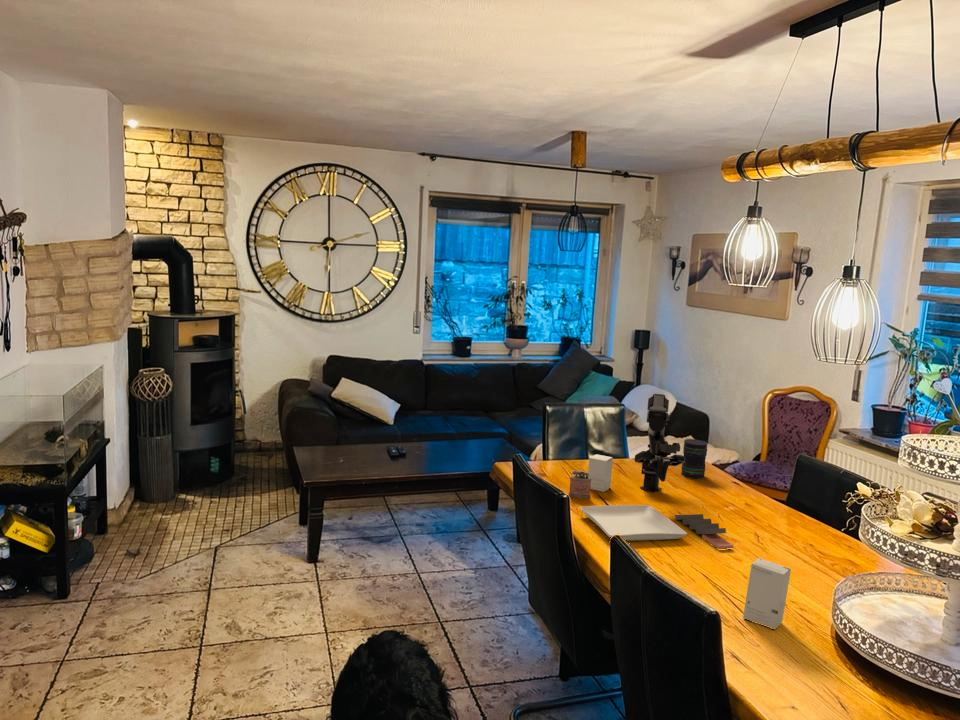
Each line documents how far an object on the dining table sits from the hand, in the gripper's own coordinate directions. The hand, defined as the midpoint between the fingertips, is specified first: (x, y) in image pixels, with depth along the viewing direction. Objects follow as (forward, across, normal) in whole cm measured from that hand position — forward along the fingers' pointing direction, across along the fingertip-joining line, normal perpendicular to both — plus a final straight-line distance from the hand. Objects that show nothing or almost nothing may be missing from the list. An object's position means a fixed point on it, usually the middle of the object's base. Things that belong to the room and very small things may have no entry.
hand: (663, 481), depth 257 cm
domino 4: (+22, +1, -16) cm, 27 cm away
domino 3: (+19, +1, -12) cm, 23 cm away
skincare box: (+54, -22, -60) cm, 84 cm away
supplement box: (-4, -10, +28) cm, 30 cm away
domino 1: (+14, +2, -5) cm, 15 cm away
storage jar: (-14, +41, +32) cm, 54 cm away
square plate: (+20, -20, -5) cm, 29 cm away
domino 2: (+17, +2, -8) cm, 19 cm away
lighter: (+2, -22, +22) cm, 32 cm away
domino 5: (+24, 0, -19) cm, 30 cm away
